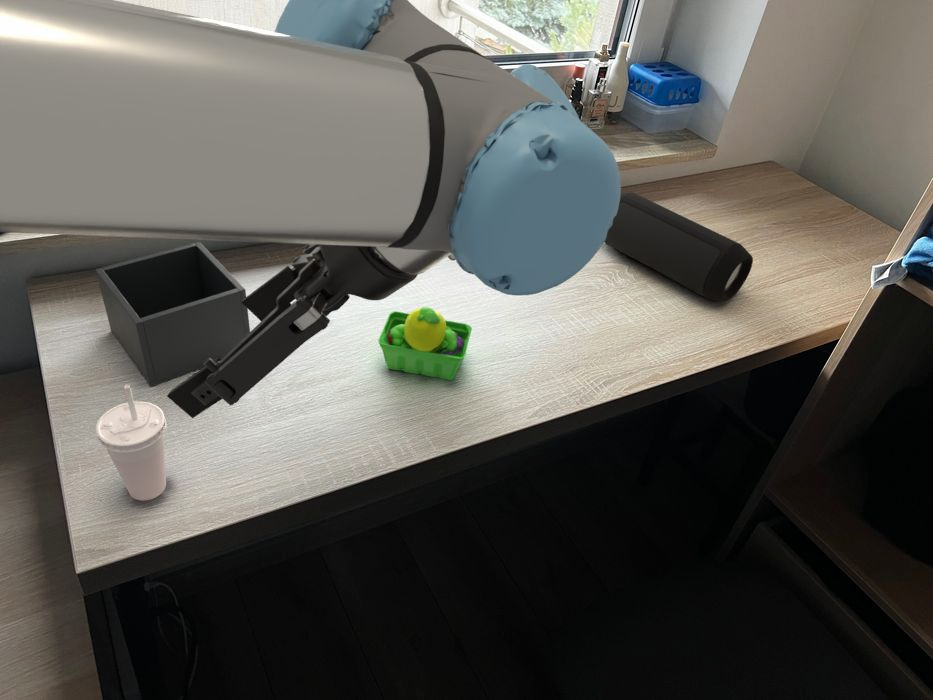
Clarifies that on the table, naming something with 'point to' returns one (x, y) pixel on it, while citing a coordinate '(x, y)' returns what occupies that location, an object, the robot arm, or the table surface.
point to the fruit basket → (424, 343)
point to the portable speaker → (679, 248)
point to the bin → (173, 310)
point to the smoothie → (136, 445)
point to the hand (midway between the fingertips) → (220, 353)
